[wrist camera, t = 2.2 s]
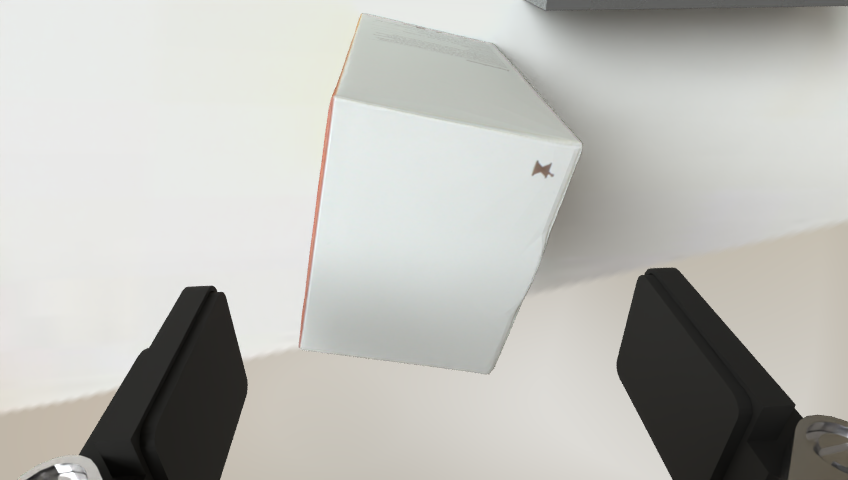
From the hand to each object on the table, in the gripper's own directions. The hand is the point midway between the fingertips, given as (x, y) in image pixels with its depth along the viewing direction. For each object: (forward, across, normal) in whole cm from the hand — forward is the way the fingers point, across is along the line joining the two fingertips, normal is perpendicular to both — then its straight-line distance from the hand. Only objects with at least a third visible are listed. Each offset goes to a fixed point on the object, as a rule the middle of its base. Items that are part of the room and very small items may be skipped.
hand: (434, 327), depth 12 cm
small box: (+16, 0, 0) cm, 16 cm away
